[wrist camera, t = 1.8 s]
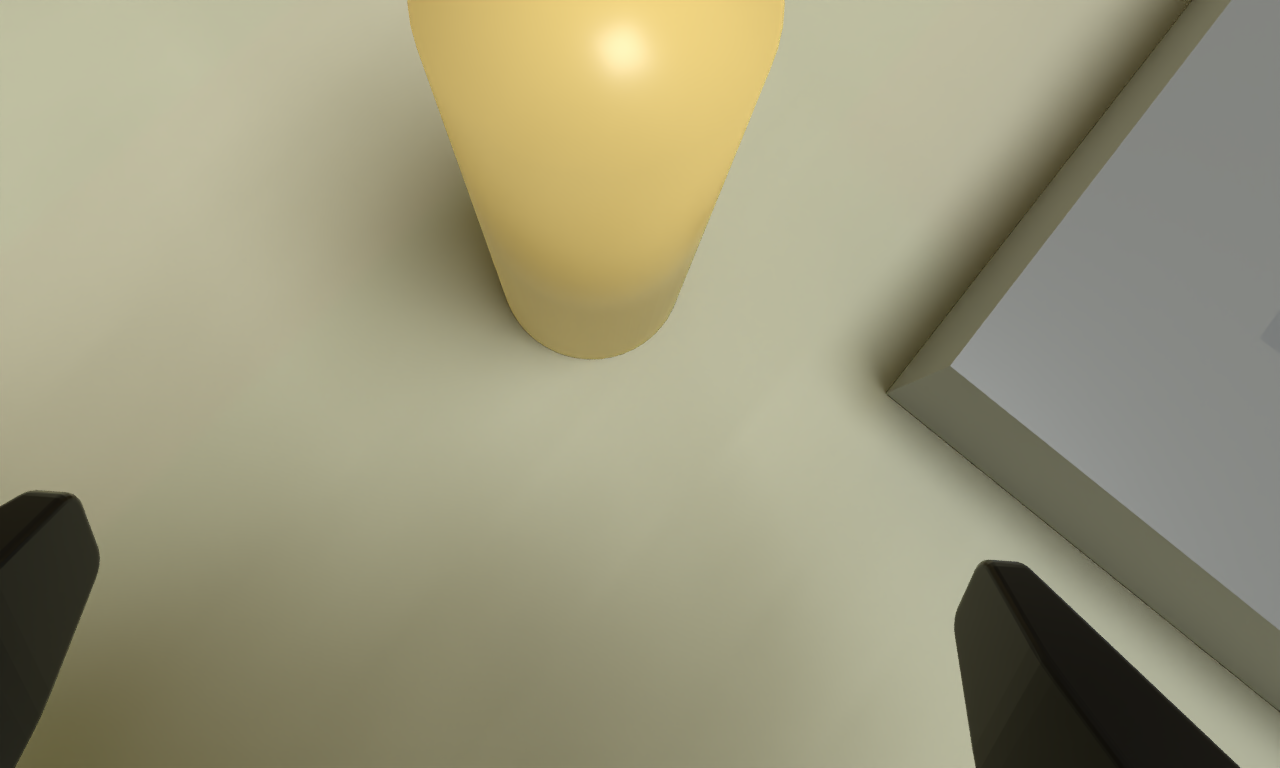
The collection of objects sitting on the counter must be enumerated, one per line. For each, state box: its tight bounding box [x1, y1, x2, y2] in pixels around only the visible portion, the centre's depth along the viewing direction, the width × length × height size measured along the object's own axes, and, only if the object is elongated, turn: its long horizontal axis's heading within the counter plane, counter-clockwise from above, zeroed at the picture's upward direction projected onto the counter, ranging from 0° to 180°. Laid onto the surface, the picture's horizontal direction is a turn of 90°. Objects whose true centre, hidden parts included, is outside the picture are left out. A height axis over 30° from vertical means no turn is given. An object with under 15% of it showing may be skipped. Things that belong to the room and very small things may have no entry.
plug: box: [407, 0, 785, 359], centre depth 17 cm, size 4×4×12 cm
